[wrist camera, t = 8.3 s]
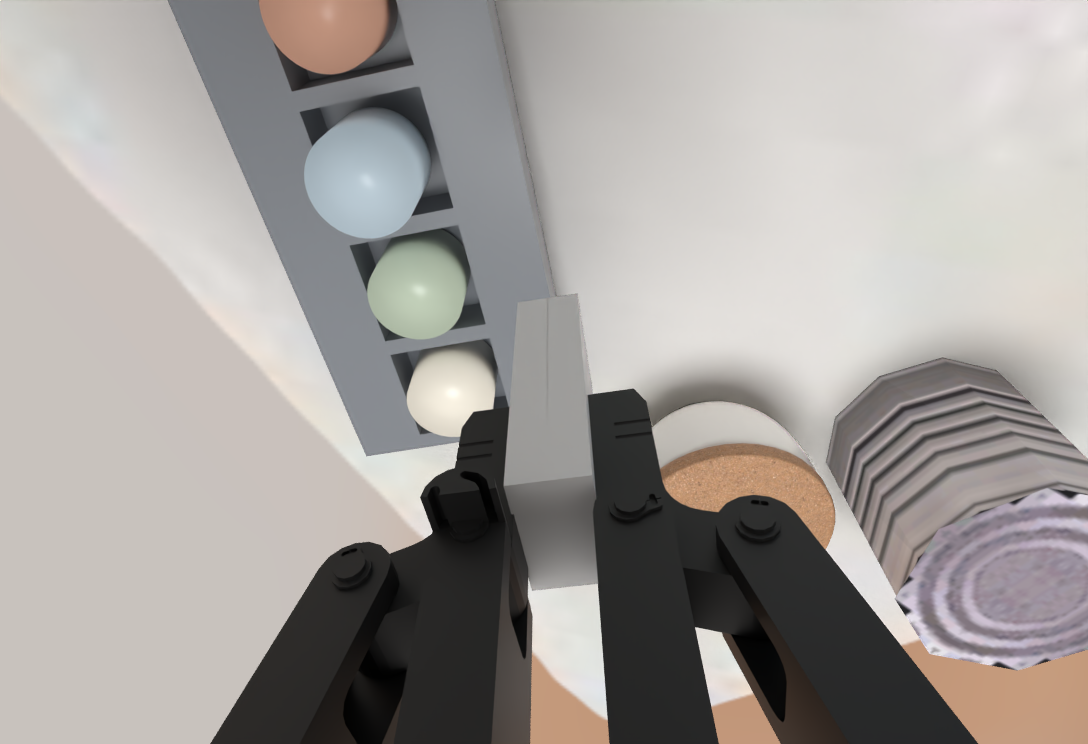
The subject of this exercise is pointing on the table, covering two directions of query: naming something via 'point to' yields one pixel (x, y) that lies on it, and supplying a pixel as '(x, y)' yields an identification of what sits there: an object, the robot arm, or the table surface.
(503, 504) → the robot arm
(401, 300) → the sage button
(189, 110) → the table surface
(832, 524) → the lidded jar
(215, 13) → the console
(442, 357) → the cream button
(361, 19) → the terracotta button
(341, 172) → the pale blue button
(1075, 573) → the can
